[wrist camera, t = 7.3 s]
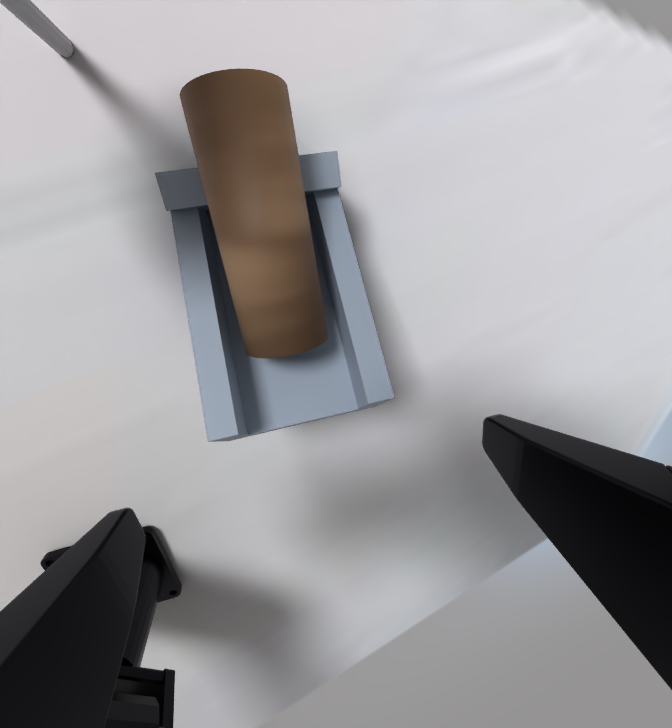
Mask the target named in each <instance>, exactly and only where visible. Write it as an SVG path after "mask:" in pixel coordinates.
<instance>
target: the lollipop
mask: <svg viewBox="0 0 672 728" xmlns="http://www.w3.org/2000/svg"><path fill="white" fill-rule="evenodd" d="M0 3H1V4H2V5H3V6H5V7H6V8H7V9H8V10H9V11H10V12H11V13H13V14H14V15H15V16H16V17H17V18H18V19H19V20H21V21H22V22H23V23H24V24H25V25H26V26H27V27H29V28H30V29H31V30H32V31H33V32H34V33H35V34H37V35H38V36H39V37H40V38H41V39H42V40H43V41H45V42H46V43H47V44H48V45H49V46H50V47H51V48H53V49H54V50H55V51H56V52H57V53H59V54H61V55H62V56H64V57H69V56H71V55H72V54H73V49H74V48H73V46H72V44H71V42H70V40H69V39H68V38H67V37H66V36H65V35H64V34H63V33H62V32H61V31H60V30H59V29H58V28H57V27H56V26H55V25H54V24H53V23H52V22H51V21H50V20H49V19H48V18H47V17H46V16H45V15H44V14H43V13H42V12H41V11H40V10H39V9H38V8H37V7H36V6H35V5H34V4H33V3H32V2H31V1H30V0H0Z"/></svg>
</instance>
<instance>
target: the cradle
mask: <svg viewBox="0 0 672 728" xmlns="http://www.w3.org/2000/svg"><path fill="white" fill-rule="evenodd" d="M299 161H300V167H301V174H302V180H303V186H304V192H305V198H306V204H307V210H308V216H309V222H310V228H311V234H312V240H313V246H314V253H315V259H316V265H317V271H318V277H319V283H320V289H321V295H322V301H323V307H324V313H325V319H326V325H327V332H328V340H327V341H326V342H325V343H323V344H322V345H320V346H318V347H316V348H314V349H312V350H309V351H306V352H303V353H299V354H295V355H291V356H285V357H279V358H254V357H251V356H249V355H247V353H246V350H245V346H244V342H243V338H242V334H241V330H240V327H239V323H238V319H237V315H236V311H235V307H234V303H233V300H232V296H231V292H230V288H229V284H228V280H227V276H226V273H225V269H224V265H223V261H222V257H221V253H220V249H219V246H218V242H217V238H216V234H215V230H214V226H213V222H212V219H211V215H210V211H209V207H208V203H207V199H206V195H205V192H204V188H203V184H202V180H201V176H200V172H199V168H192V169H184V170H175V171H167V172H159V173H155V175H156V178H157V182H158V185H159V188H160V191H161V195H162V198H163V201H164V204H165V208H166V210H167V211H171V216H172V222H173V228H174V234H175V240H176V247H177V253H178V259H179V265H180V272H181V278H182V284H183V290H184V296H185V303H186V309H187V315H188V321H189V327H190V334H191V340H192V346H193V352H194V359H195V365H196V371H197V377H198V383H199V390H200V396H201V402H202V408H203V414H204V421H205V427H206V433H207V439H208V442H211V441H231V440H235V439H239V438H244V437H248V436H252V435H256V434H260V433H265V432H269V431H273V430H277V429H281V428H286V427H290V426H294V425H298V424H302V423H307V422H311V421H315V420H319V419H324V418H328V417H332V416H336V415H340V414H345V413H349V412H353V411H357V410H361V409H366V408H370V407H374V406H377V405H379V404H382V403H384V402H386V401H388V400H390V399H393V398H395V397H394V393H393V390H392V386H391V382H390V379H389V375H388V371H387V368H386V364H385V360H384V357H383V353H382V349H381V346H380V342H379V338H378V335H377V331H376V327H375V324H374V320H373V317H372V313H371V309H370V306H369V302H368V298H367V295H366V291H365V287H364V284H363V280H362V276H361V273H360V269H359V265H358V262H357V258H356V254H355V251H354V247H353V243H352V240H351V236H350V232H349V229H348V225H347V222H346V218H345V214H344V211H343V207H342V203H341V200H340V196H339V192H338V189H337V188H339V187H341V180H340V171H339V162H338V154H337V151H333V152H324V153H316V154H308V155H300V156H299Z"/></svg>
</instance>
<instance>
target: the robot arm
mask: <svg viewBox="0 0 672 728" xmlns="http://www.w3.org/2000/svg"><path fill="white" fill-rule="evenodd" d="M482 444H483V448H484V450H485V452H486V454H487V455H488V457H489V458H490V460H491V461H492V463H493V464H494V466H495V467H496V469H497V470H498V472H499V473H500V475H501V476H502V478H503V479H504V481H505V482H506V484H507V485H508V487H509V488H510V490H511V491H512V493H513V494H514V496H515V497H516V498H517V500H518V501H519V502H520V504H521V505H522V506H523V508H524V509H525V510H526V511H527V513H528V514H529V515H530V516H531V517H532V519H533V520H534V521H535V522H536V524H537V525H538V526H539V527H540V529H541V530H542V531H543V532H544V533H545V535H546V536H547V537H548V538H549V540H550V541H551V542H552V543H553V545H554V546H555V547H556V548H557V549H558V551H559V552H560V553H561V554H562V556H563V557H564V558H565V559H566V561H567V562H568V563H569V564H570V565H571V567H572V568H573V569H574V570H575V572H576V573H577V574H578V575H579V576H580V578H581V579H582V580H583V581H584V583H585V584H586V585H587V586H588V588H589V589H590V590H591V591H592V593H593V594H594V595H595V596H596V597H597V599H598V600H599V601H600V602H601V603H602V605H603V606H604V607H605V609H606V610H607V611H608V612H609V613H610V615H611V616H612V617H613V618H614V619H615V621H616V622H617V623H618V624H619V626H620V627H621V628H622V629H623V631H624V632H625V633H626V634H627V636H628V637H629V638H630V639H631V641H632V642H633V643H634V644H635V645H636V647H637V648H638V649H639V650H640V652H641V653H642V654H643V655H644V657H645V658H646V659H647V660H648V661H649V663H650V664H651V665H652V666H653V668H654V669H655V670H656V671H657V673H658V674H659V675H660V676H661V677H662V679H663V680H664V681H665V682H666V684H667V685H668V686H669V687H670V688H671V690H672V466H665V465H664V464H662V463H658V462H655V461H652V460H648V459H645V458H642V457H639V456H635V455H632V454H629V453H626V452H622V451H619V450H616V449H612V448H609V447H606V446H603V445H599V444H596V443H593V442H589V441H586V440H583V439H580V438H576V437H573V436H570V435H567V434H563V433H560V432H557V431H553V430H550V429H547V428H544V427H540V426H537V425H534V424H530V423H527V422H524V421H521V420H517V419H514V418H511V417H508V416H504V415H501V414H498V415H493V416H489V417H486V418H485V419H484V422H483V438H482ZM145 535H147V536H145ZM41 566H42V567H43V569H44V570H45V571H44V572H43V573H42V574H41V575H40V576H39V577H38V578H37V579H36V580H34V581H33V582H32V583H31V584H30V585H29V586H28V587H27V588H26V589H25V590H23V591H22V592H21V593H20V594H19V595H18V596H17V597H16V598H15V599H14V600H12V601H11V602H10V603H9V604H8V605H7V606H6V607H5V608H4V609H3V610H1V611H0V728H173V713H174V683H175V670H170V669H164V670H163V671H162V670H155V669H149V668H142V667H140V665H141V661H142V658H143V654H144V650H145V646H146V643H147V639H148V635H149V631H150V627H151V624H152V620H153V616H154V612H155V609H156V605H157V602H161V601H164V600H168V599H171V598H174V597H177V596H179V595H180V593H181V589H182V585H181V583H180V581H179V579H178V577H177V575H176V573H175V571H174V569H173V567H172V565H171V563H170V561H169V559H168V557H167V555H166V553H165V551H164V549H163V547H162V545H161V543H160V541H159V539H158V537H157V535H156V533H155V531H154V529H152V528H150V527H143V528H142V526H141V524H140V523H139V521H138V519H137V517H136V515H135V513H134V511H133V510H132V509H131V508H124V509H120V510H116V511H112V512H110V513H108V514H107V515H106V516H105V517H104V518H103V519H102V520H101V521H100V522H98V523H97V524H96V525H95V526H94V527H93V528H92V529H91V530H90V531H88V532H87V533H86V534H85V535H84V536H83V537H82V538H81V539H80V540H79V541H77V542H76V543H75V544H74V545H73V546H71V547H67V548H63V549H60V550H56V551H52V552H49V553H47V554H46V555H45V556H44V557H43V559H42V561H41Z"/></svg>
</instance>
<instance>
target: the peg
mask: <svg viewBox="0 0 672 728" xmlns="http://www.w3.org/2000/svg"><path fill="white" fill-rule="evenodd" d="M180 99H181V103H182V107H183V111H184V114H185V118H186V122H187V126H188V130H189V134H190V138H191V141H192V145H193V149H194V153H195V157H196V161H197V165H198V168H199V172H200V176H201V180H202V184H203V188H204V192H205V195H206V199H207V203H208V207H209V211H210V215H211V219H212V222H213V226H214V230H215V234H216V238H217V242H218V246H219V249H220V253H221V257H222V261H223V265H224V269H225V273H226V276H227V280H228V284H229V288H230V292H231V296H232V300H233V303H234V307H235V311H236V315H237V319H238V323H239V327H240V330H241V334H242V338H243V342H244V346H245V350H246V353H247V355H249V356H251V357H254V358H279V357H285V356H291V355H295V354H299V353H303V352H306V351H309V350H312V349H314V348H316V347H318V346H320V345H322V344H323V343H325V342H326V341H327V340H328V332H327V325H326V319H325V313H324V307H323V301H322V295H321V289H320V283H319V277H318V271H317V265H316V259H315V253H314V246H313V240H312V234H311V228H310V222H309V216H308V210H307V204H306V198H305V192H304V186H303V180H302V174H301V167H300V161H299V155H298V149H297V143H296V137H295V131H294V125H293V119H292V113H291V107H290V101H289V95H288V88H287V85H286V83H285V81H284V80H283V79H282V78H280V77H279V76H277V75H275V74H272V73H269V72H266V71H261V70H255V69H228V70H221V71H215V72H211V73H207V74H205V75H202V76H199V77H197V78H195V79H193V80H191V81H190V82H188V83H187V84H186V85H185V86H184V87H183V88H182V90H181V92H180Z"/></svg>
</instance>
